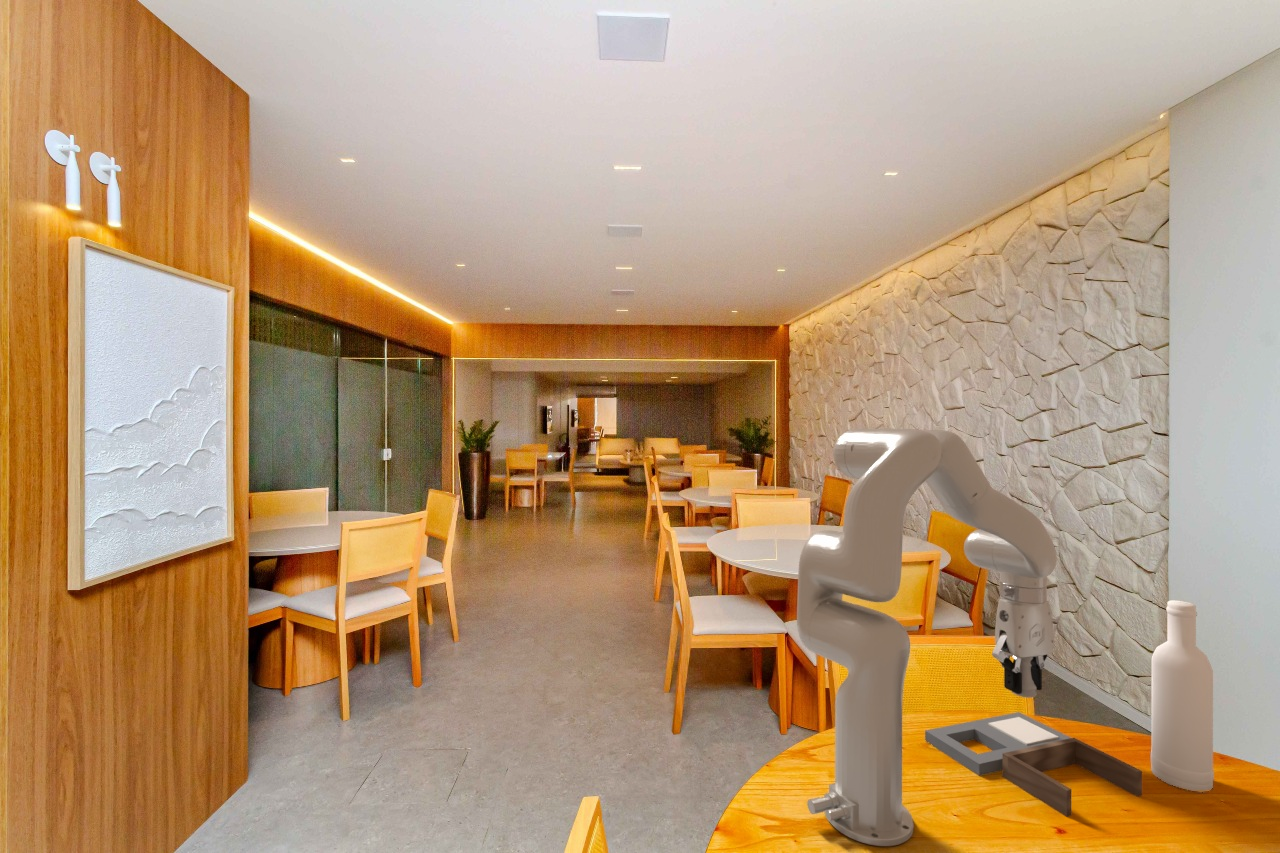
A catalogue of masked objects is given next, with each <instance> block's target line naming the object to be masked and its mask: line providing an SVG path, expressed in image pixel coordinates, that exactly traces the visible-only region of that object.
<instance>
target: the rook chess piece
mask: <svg viewBox="0 0 1280 853" xmlns="http://www.w3.org/2000/svg"><path fill="white" fill-rule="evenodd" d="M1032 659H1033V657H1030V658H1022V659H1021V662H1020V669H1019V672H1021V673H1022V693H1021V694H1017V693H1015V692H1013V691H1011V693H1012V694H1014V695H1016V696H1019V697H1022V698H1026V699H1027V698H1030V699H1031V698H1035V697H1036V696H1037V695H1038V693H1037V688H1036V686H1035V684H1034V682H1033V680H1032V676H1031V666H1032V665H1031V664H1030V661H1031V660H1032Z"/></svg>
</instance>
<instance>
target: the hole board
mask: <svg viewBox="0 0 1280 853" xmlns="http://www.w3.org/2000/svg"><path fill="white" fill-rule="evenodd" d="M1070 738H1072V737H1071V736H1069V735H1067V734H1064V733H1063V732H1060V731H1058V730H1056V729H1054V728H1052V727H1050V726H1048V725H1046V724H1044V723H1042V722H1040V721H1038V720H1036V719H1034V718H1032V717H1030V716H1028V715H1025V714H1024V713H1022V712H1019V711H1018V712H1013V713H1008V714H1003V715H997V716H992V717H987V718H983V719H982V718H981V719H977V720H972V721H966V722H961V723H958V724H957V723H956V724H951V725H945V726H941V727H937V728H931V729H925V730H924V741H925V740H926V741H927V742H926V741H925V742H926V743H928V742H929V743H930V744H929V743H928V744H929V745H931V744H932V745H933V746H932V745H931V746H932V747H934V748H935V747H936V748H935V749H937V750H938V751H940V752H941V753H943V754H945V755H947V756H948V757H949V758H951V759H952V760H954V761H955V762H957V763H958V764H960V765H962V766H964V767H965V768H966V769H968V770H969V771H971V772H973V773H974V774H976V775H977V776H983V775H988V774H992V773H997V772H1000V771H1002V754H1003V753H1007V752H1011V751H1016V750H1020V749H1025V748H1029V747H1034V746H1038V745H1043V744H1047V743H1052V742H1056V741H1061V740H1065V739H1070ZM973 740H974V741H977V742H978V743H980V744H982V745H983V746H985V747H986V748H988V749H991V750H989V751H986V752H981V753H977V752H976V751H974V750H972V749H970V748H969V747H968V746H965V745H963V744H962V743H964V742H965V743H966V742H968V741H973Z"/></svg>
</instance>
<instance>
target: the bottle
mask: <svg viewBox="0 0 1280 853" xmlns="http://www.w3.org/2000/svg"><path fill="white" fill-rule="evenodd" d="M1165 611H1166V612H1167V613H1166V616H1167V618H1166V619H1167V620H1166V621H1167V622H1166V624H1167V626H1166V627H1167V629H1166V630H1167V631H1166V635H1167V636H1166V638H1167V640H1166V641H1165V642H1162V643H1161V644H1159V645H1158V646H1156V648H1155V650H1154V651H1153V653H1152V656H1151V674H1150V675H1151V687H1150V688H1151V690H1150V691H1151V697H1150V698H1151V700H1150V701H1151V702H1150V703H1151V705H1150V706H1151V718H1150V720H1151V724H1150V725H1151V727H1150V728H1151V731H1150V732H1151V733H1150V734H1151V739H1150V740H1151V748H1150V749H1151V751H1150V763H1151V764H1150V766H1151V768H1150V770H1151V772H1152V774H1153V775H1154V776H1155V777H1156V778H1157V777H1158V778H1157V779H1159V780H1160V779H1161V780H1160V781H1162V782H1163V781H1164V783H1165V782H1166V784H1167V785H1170V786H1172V785H1173V786H1172V787H1174V786H1176V787H1175V788H1177V787H1180V788H1183V789H1187V790H1186V791H1188V790H1192V791H1207V790H1211V789H1212V788H1213V789H1214V780H1215V776H1214V775H1215V773H1214V757H1213V756H1214V670H1213V668H1212V665H1211V663H1210V661H1209V659H1208V656H1207V655H1206V654H1205V653H1204V652H1203V651H1202V650H1201V649H1200V648H1199V647H1198V646H1197V645H1196V644H1197V642H1196V641H1197V616H1198V613H1197V607H1196V605H1195V604H1194V603H1193V602H1188V601H1184V600H1183V601H1182V600H1177V599H1175V600H1174V599H1172V600H1171V599H1170V600H1168V601H1167V604H1166V608H1165ZM1180 788H1179V789H1180ZM1183 789H1182V790H1183ZM1213 789H1212V790H1213ZM1212 790H1211V791H1212ZM1192 791H1191V792H1192Z"/></svg>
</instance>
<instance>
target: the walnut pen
mask: <svg viewBox="0 0 1280 853" xmlns="http://www.w3.org/2000/svg"><path fill="white" fill-rule="evenodd" d="M1072 765H1077V766H1079V767H1080V768H1082V769H1084V770H1086V771H1088V772H1091V773H1092V774H1094V775H1096V776H1098V777H1099V778H1102V779H1104V780H1106V781H1107V782H1108V783H1111V784H1113V785H1115V786H1117V787H1118V788H1120V789H1121V790H1124V791H1126V792H1127V793H1130V794H1132V795H1133V796H1135V795H1136V796H1135V797H1137V796H1138V798H1139V797H1141V795H1142V796H1143V770H1141V769H1139V768H1137V767H1135V766H1133V765H1131V764H1128V763H1127V762H1125V761H1122V760H1121V759H1118V758H1117V757H1114V756H1113V755H1110V754H1109V753H1106V752H1104V751H1102V750H1100V749H1098V748H1096V747H1094V746H1092V745H1091V744H1088V743H1085V742H1084V741H1081V740H1079V739H1077V738H1075V737H1071V738H1070V739H1065V740H1061V741H1056V742H1052V743H1047V744H1043V745H1038V746H1034V747H1029V748H1025V749H1020V750H1016V751H1011V752H1007V753H1003V754H1002V770H1001V771H1002V778H1003V779H1005V780H1006V781H1009V782H1010V783H1012V784H1013V785H1015V786H1016V787H1019V789H1022V790H1023V791H1025V792H1026V793H1028V794H1029V795H1031V796H1033V798H1036V799H1038V800H1039V801H1041V802H1042V803H1044V804H1045V805H1047V806H1048V807H1050V808H1053V810H1056V811H1057V812H1059V813H1060V814H1061V815H1063V816H1064V817H1071V816H1072V788H1070V787H1069V786H1067V785H1065V784H1063V783H1061V782H1060V781H1057V779H1054V778H1053V777H1051V776H1049V775H1047V774H1046V773H1044V772H1046V771H1051V770H1055V769H1060V768H1064V767H1068V766H1072Z"/></svg>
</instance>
